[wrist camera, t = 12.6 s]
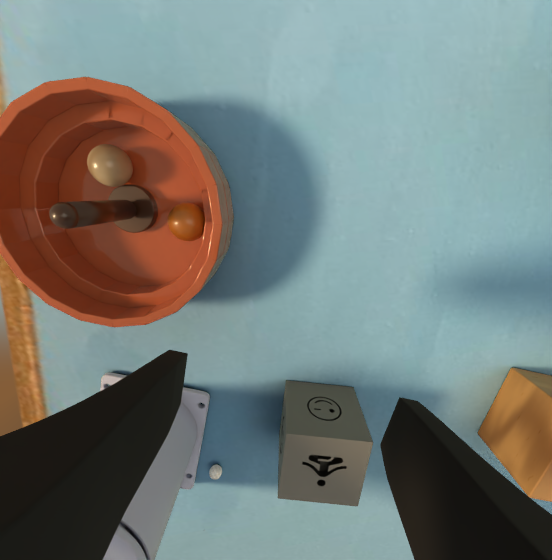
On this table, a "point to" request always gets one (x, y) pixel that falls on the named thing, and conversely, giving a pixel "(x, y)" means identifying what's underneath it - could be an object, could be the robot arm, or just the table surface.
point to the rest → (523, 430)
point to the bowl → (84, 187)
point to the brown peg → (110, 210)
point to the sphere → (215, 472)
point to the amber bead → (186, 221)
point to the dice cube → (322, 444)
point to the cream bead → (110, 165)
